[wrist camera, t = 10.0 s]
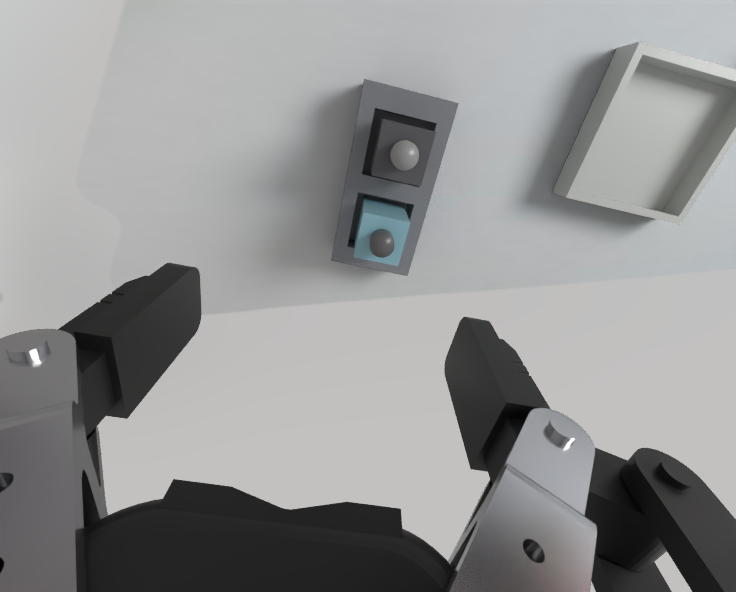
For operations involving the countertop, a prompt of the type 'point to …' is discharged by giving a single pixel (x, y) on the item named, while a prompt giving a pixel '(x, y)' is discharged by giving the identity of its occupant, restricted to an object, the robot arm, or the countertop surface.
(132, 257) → the countertop surface
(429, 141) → the dark grey knobbed block
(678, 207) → the tray
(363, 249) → the teal plug
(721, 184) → the countertop surface
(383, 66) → the countertop surface
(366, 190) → the grey socket holder
